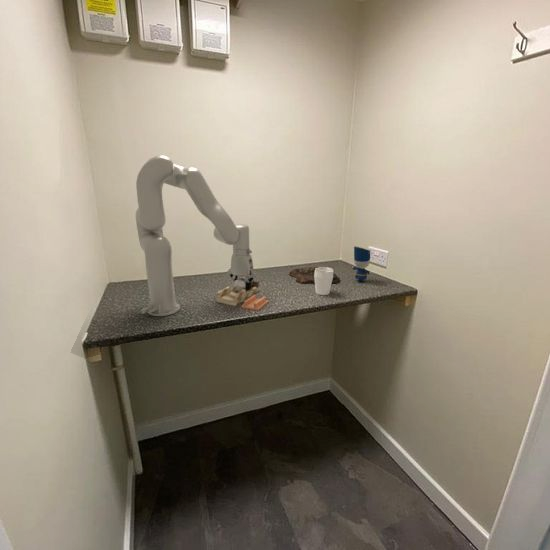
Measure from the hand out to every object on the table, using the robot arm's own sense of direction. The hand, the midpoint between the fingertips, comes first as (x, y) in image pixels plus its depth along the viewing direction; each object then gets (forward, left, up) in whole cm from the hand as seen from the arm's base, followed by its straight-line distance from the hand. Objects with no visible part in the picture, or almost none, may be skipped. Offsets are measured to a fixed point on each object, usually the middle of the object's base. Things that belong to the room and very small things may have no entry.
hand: (242, 288), depth 136 cm
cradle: (-9, -12, -3) cm, 15 cm away
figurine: (+45, -47, -3) cm, 65 cm away
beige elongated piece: (-3, 0, -3) cm, 4 cm away
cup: (+19, -34, -3) cm, 39 cm away
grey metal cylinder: (+1, 0, -1) cm, 1 cm away
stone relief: (+41, -23, -4) cm, 48 cm away
